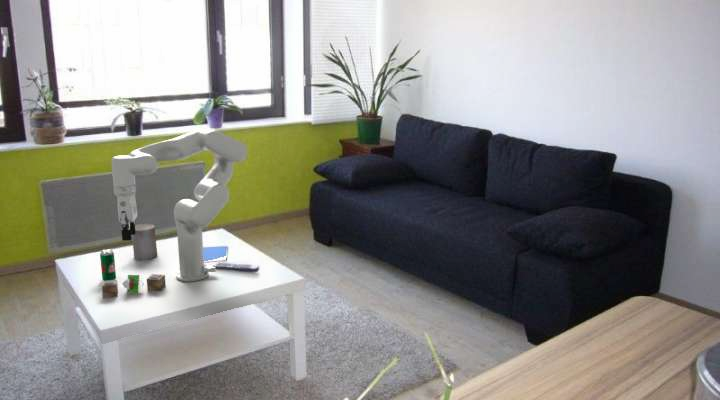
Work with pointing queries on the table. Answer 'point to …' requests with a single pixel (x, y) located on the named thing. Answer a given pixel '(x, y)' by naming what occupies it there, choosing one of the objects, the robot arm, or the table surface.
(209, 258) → the tablet computer
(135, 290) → the geometric puzzle
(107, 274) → the soda can
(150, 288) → the marked block 2
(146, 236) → the pillar candle
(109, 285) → the marked block 1
